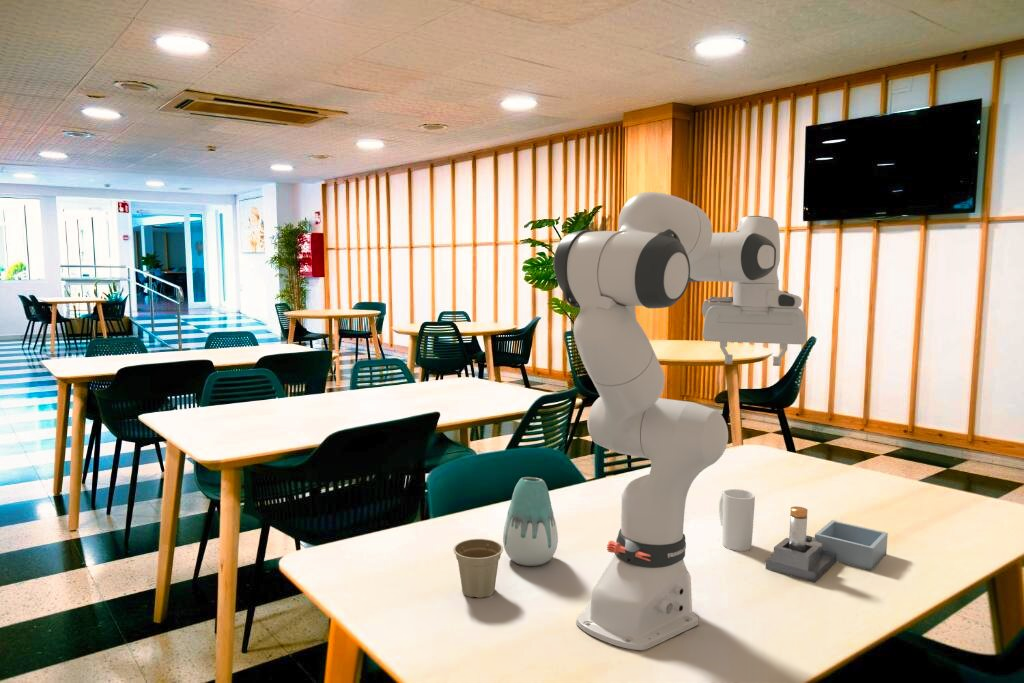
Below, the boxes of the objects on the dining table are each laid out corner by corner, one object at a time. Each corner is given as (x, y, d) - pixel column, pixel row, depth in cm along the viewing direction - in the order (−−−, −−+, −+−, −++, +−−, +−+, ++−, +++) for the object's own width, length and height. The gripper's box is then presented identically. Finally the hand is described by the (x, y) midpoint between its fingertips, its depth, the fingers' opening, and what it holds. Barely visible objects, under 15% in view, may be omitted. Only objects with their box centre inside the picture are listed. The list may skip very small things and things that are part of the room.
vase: (529, 544, 159) (530, 466, 157) (568, 560, 151) (570, 478, 149) (491, 559, 151) (492, 477, 149) (530, 576, 143) (531, 490, 141)
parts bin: (871, 570, 147) (873, 548, 146) (813, 555, 154) (814, 534, 154) (886, 554, 155) (887, 532, 155) (830, 540, 163) (832, 520, 162)
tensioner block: (815, 582, 141) (816, 557, 140) (765, 568, 147) (766, 544, 147) (835, 562, 151) (837, 539, 150) (788, 550, 157) (789, 527, 157)
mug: (759, 549, 157) (761, 496, 156) (733, 553, 155) (736, 500, 154) (730, 533, 167) (732, 483, 166) (706, 536, 165) (708, 486, 163)
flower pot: (484, 607, 130) (484, 562, 129) (443, 594, 135) (443, 550, 134) (512, 588, 138) (512, 545, 137) (472, 576, 142) (472, 535, 142)
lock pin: (801, 565, 144) (804, 512, 143) (785, 560, 146) (788, 509, 145) (807, 560, 147) (809, 508, 146) (791, 556, 149) (794, 505, 148)
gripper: (701, 297, 145) (699, 364, 147) (809, 298, 139) (806, 369, 140) (703, 295, 151) (701, 360, 153) (807, 297, 145) (804, 364, 146)
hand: (752, 364), depth 146 cm, fingers open, 8 cm apart
